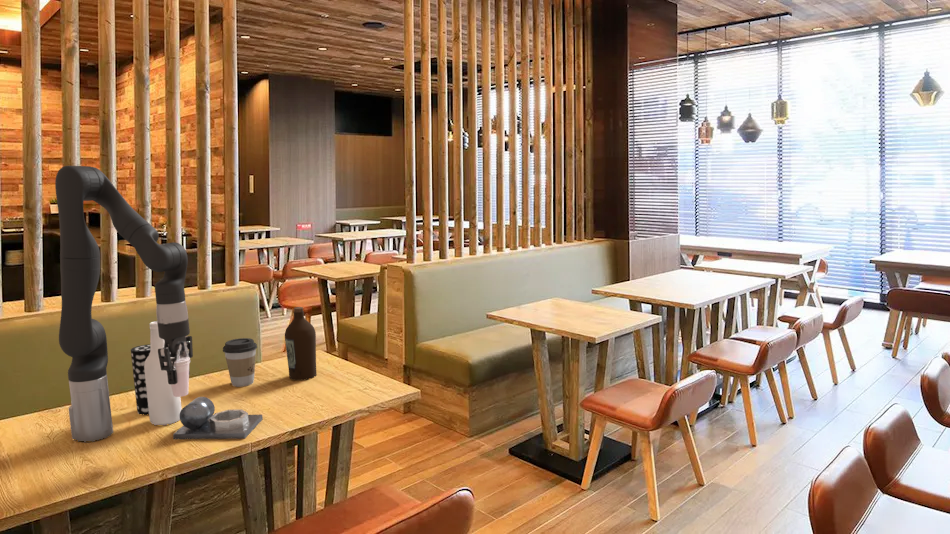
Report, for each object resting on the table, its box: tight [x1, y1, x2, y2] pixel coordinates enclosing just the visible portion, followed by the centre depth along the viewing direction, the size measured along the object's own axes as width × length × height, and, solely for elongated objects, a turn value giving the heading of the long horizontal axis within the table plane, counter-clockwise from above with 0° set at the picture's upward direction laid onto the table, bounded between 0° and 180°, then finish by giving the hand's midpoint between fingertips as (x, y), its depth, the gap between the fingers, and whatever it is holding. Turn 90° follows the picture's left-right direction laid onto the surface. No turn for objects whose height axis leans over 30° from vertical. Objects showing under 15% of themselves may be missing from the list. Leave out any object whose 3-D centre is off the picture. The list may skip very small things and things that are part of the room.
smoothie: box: [164, 356, 192, 398], centre depth 177 cm, size 6×6×14 cm
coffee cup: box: [222, 337, 258, 388], centre depth 229 cm, size 11×11×15 cm
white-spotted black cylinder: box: [130, 344, 151, 416], centre depth 204 cm, size 8×8×20 cm
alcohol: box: [144, 320, 183, 426], centre depth 194 cm, size 9×9×30 cm
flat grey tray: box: [172, 396, 264, 440], centre depth 188 cm, size 20×14×8 cm
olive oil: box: [284, 306, 317, 381], centre depth 234 cm, size 11×11×25 cm
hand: (179, 379), depth 177 cm, fingers closed on smoothie, 6 cm apart
